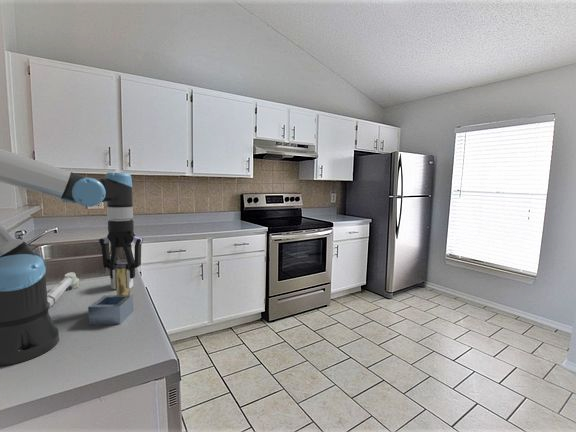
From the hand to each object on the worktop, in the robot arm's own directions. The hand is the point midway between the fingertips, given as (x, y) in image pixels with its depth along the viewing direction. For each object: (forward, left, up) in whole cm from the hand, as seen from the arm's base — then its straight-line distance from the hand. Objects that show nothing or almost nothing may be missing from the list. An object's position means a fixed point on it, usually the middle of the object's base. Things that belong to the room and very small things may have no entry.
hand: (123, 287), depth 103 cm
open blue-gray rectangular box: (-9, 0, -7) cm, 11 cm away
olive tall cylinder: (0, 0, -5) cm, 5 cm away
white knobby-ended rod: (+9, +27, -7) cm, 29 cm away
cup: (+20, +10, -7) cm, 23 cm away
